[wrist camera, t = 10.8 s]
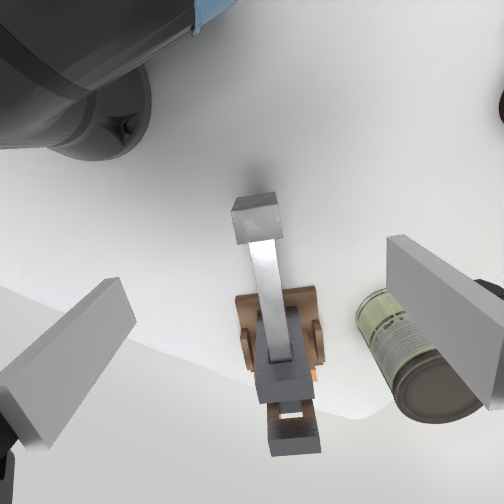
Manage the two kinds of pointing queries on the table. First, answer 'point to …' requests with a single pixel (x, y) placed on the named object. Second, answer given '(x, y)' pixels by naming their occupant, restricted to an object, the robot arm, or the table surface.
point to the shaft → (265, 265)
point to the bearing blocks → (287, 391)
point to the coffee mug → (501, 107)
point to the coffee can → (413, 364)
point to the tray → (291, 297)
